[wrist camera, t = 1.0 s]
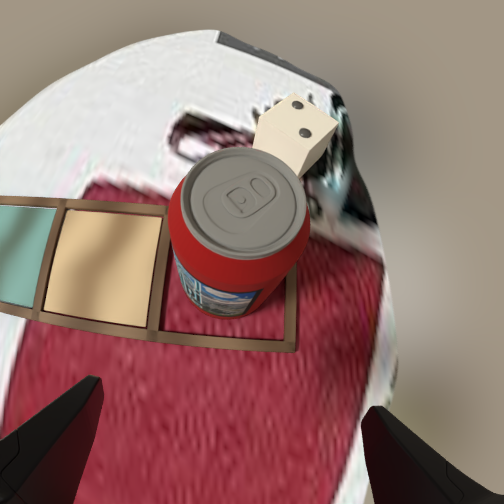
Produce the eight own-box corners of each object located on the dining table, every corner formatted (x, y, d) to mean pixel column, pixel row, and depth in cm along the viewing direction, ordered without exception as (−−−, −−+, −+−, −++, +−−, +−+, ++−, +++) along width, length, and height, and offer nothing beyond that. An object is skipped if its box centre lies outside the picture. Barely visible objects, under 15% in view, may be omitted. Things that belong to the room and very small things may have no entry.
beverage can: (163, 270, 24) (133, 183, 13) (232, 221, 26) (253, 116, 15) (219, 340, 22) (233, 310, 11) (287, 284, 25) (351, 212, 14)
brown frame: (295, 221, 27) (296, 219, 26) (293, 352, 23) (294, 352, 22) (-12, 197, 23) (-14, 195, 23) (-42, 299, 19) (-44, 298, 19)
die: (293, 184, 28) (309, 149, 24) (251, 153, 29) (259, 115, 24) (321, 156, 30) (339, 121, 25) (282, 127, 31) (294, 91, 26)
